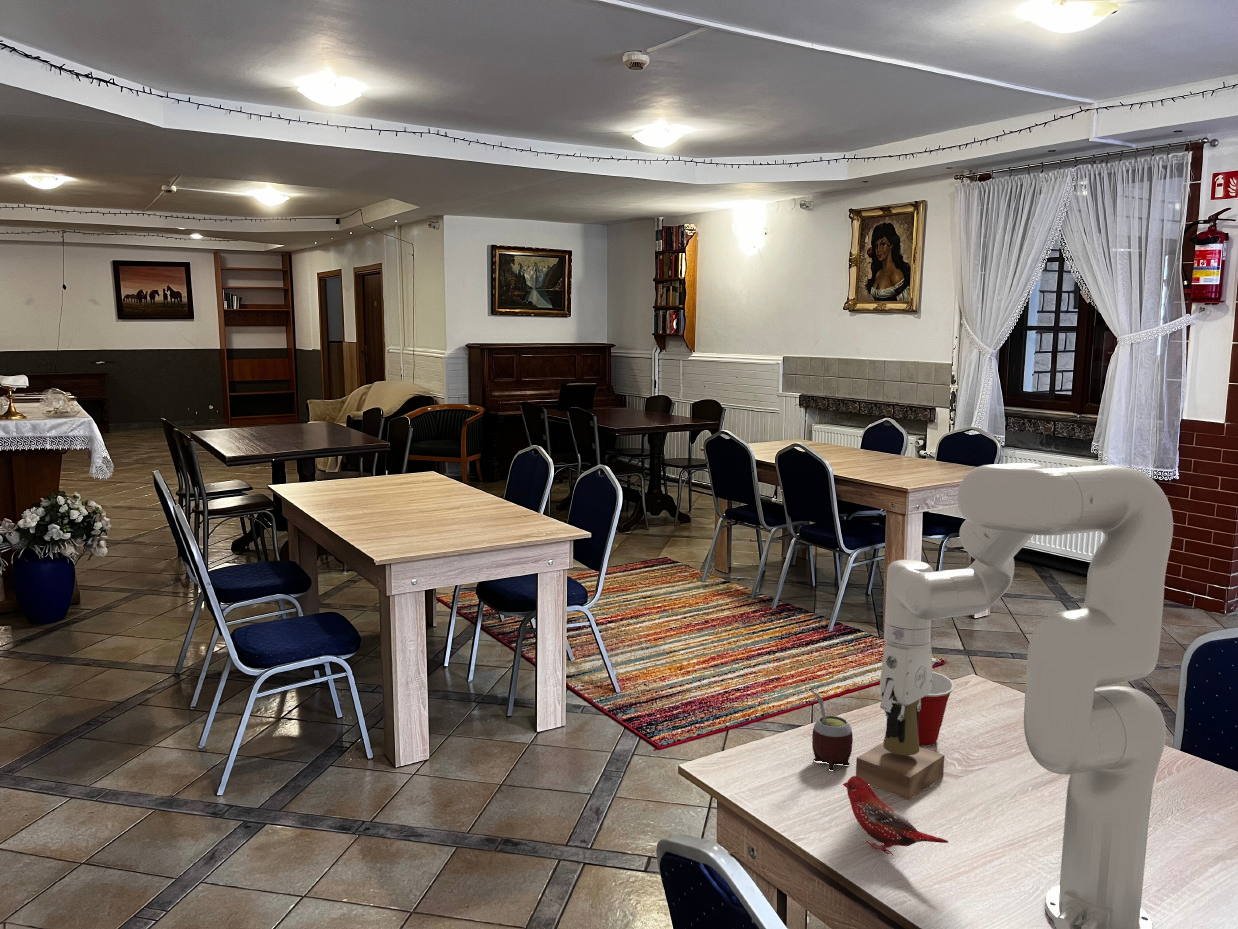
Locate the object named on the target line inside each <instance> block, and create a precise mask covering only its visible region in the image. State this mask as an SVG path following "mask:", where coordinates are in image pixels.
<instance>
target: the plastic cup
mask: <svg viewBox="0 0 1238 929" xmlns="http://www.w3.org/2000/svg"><path fill="white" fill-rule="evenodd" d="M954 688H955V684H954V682H953V680H952V679H950V678H949V677H948V676H946V675H944V674H942V673H941V674H940V673H938V672H936V671H932V689H931V692H930V693H929V694H928V695H926V696H925V697H923V698H922V699H921V709H920V711H919V725H918V738H919V746H921V745H923V747H929V746H934V745H936V744H937V741H938V738H939V735H940V730H941V727H942V723H943V720H944V716H945V712H946V708H947V703H948V700H949V697H950V695H951V694H952V693H953V690H954ZM917 712H918V711H917ZM933 744H934V745H933Z"/></svg>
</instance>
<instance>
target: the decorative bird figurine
mask: <svg viewBox="0 0 1238 929" xmlns="http://www.w3.org/2000/svg"><path fill="white" fill-rule="evenodd" d="M842 786H843V787H844V788H846V792H847V797H848V799H849V803H850V806H851V810H852V813H853V815H854V818H855V820H856V821H857V823H858V825H859V826H860V828H862V829H863V831H865V833H866V834H867V835H868V836H870V837H871V838H872V839H874V840H875V841H877V842H878V843H881V844H877V843H875V842H869V841H868V840H865V839H864V840H862V841H863V842H865V843H867V844H868V845H870V846H871V848H873V849H875V850H878V851H880V852H883V853H885V854H887V855H889V854H891V855H892V856H894V855H895V854H893V852H892V851H891V850H890V849H887V848H892V847H895V846H898V847H900V846H901V847H909V846H911V845H914V844H916V843H921V842H928V843H941V844H946V843H947V844H948V843H949V840H947V839H945V838H941V837H939V836H934V835H932V834H928V833H924V832H922V831H918V830H917V828H916V827H915V826H914V825H913V824H911V822H909V820H907V819H906V818H905V817H904V816H903V815H902V814H900V813H899V811H897V810H895V809H894V808H892V807H891V806H889V805H888V804H887V803H886V802H885V801H883V800H882V799H881V798H880V797H879V796H878V795H877V794H876V793H875V791H874V790H873V788H872V787H871V785H868V784H867V783H866V782H865V781H864V780H863V779H861V778H860V777H858V776H856V775H853V776H851V777H849V779H848V780H847V782H844V783H843V784H842Z"/></svg>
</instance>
